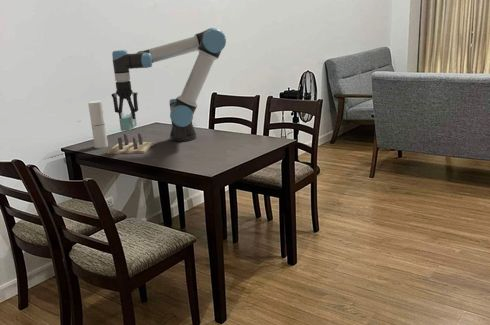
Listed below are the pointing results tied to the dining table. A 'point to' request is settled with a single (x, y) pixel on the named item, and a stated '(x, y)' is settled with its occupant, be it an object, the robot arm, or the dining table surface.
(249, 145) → the dining table surface
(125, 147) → the wooden peg board
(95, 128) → the cylindrical container
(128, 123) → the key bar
